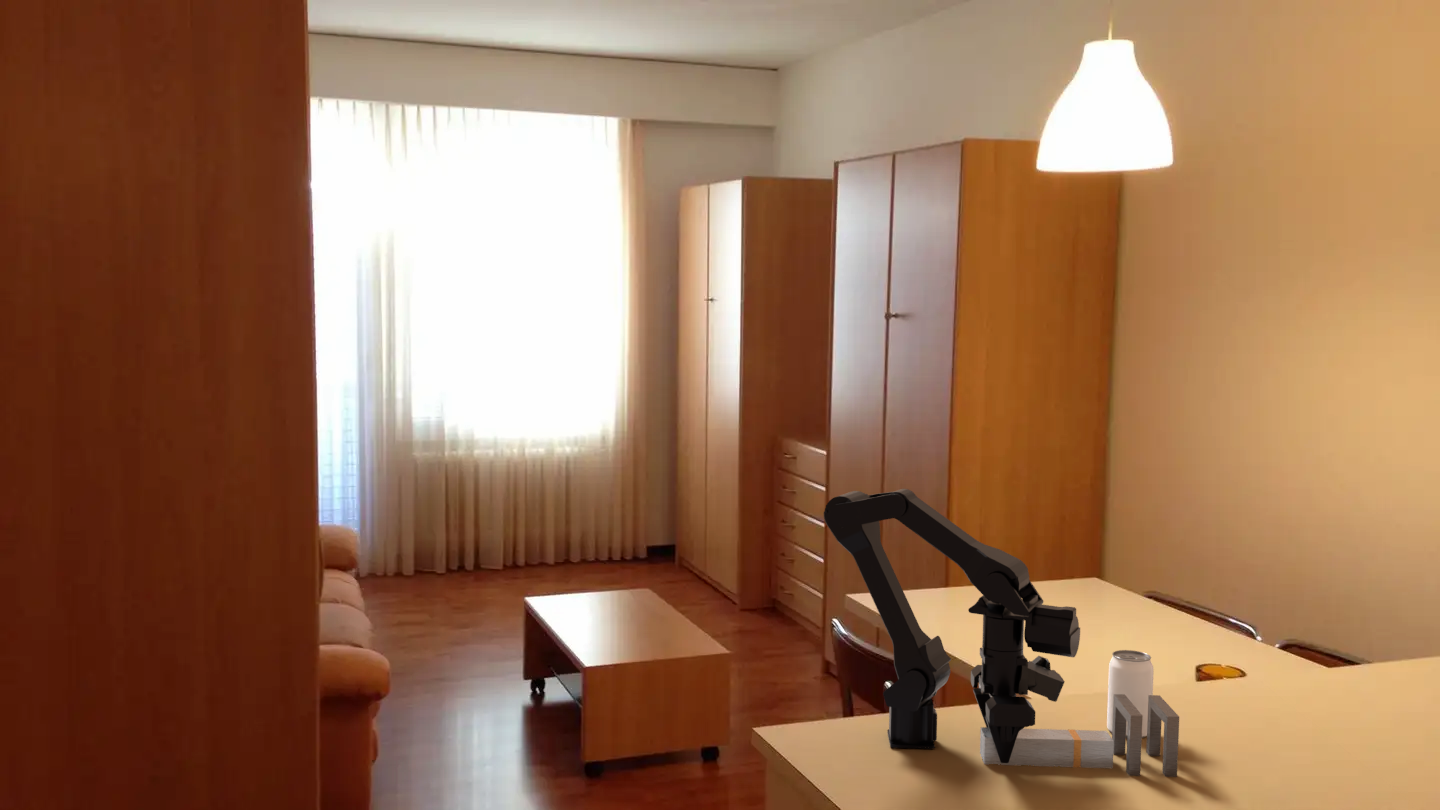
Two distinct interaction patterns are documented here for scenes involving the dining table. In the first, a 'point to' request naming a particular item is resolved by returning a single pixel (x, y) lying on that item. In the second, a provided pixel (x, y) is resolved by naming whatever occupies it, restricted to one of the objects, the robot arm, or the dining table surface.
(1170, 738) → the collar
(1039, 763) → the grey banded block
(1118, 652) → the can
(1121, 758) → the dining table surface
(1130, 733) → the collar
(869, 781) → the dining table surface
